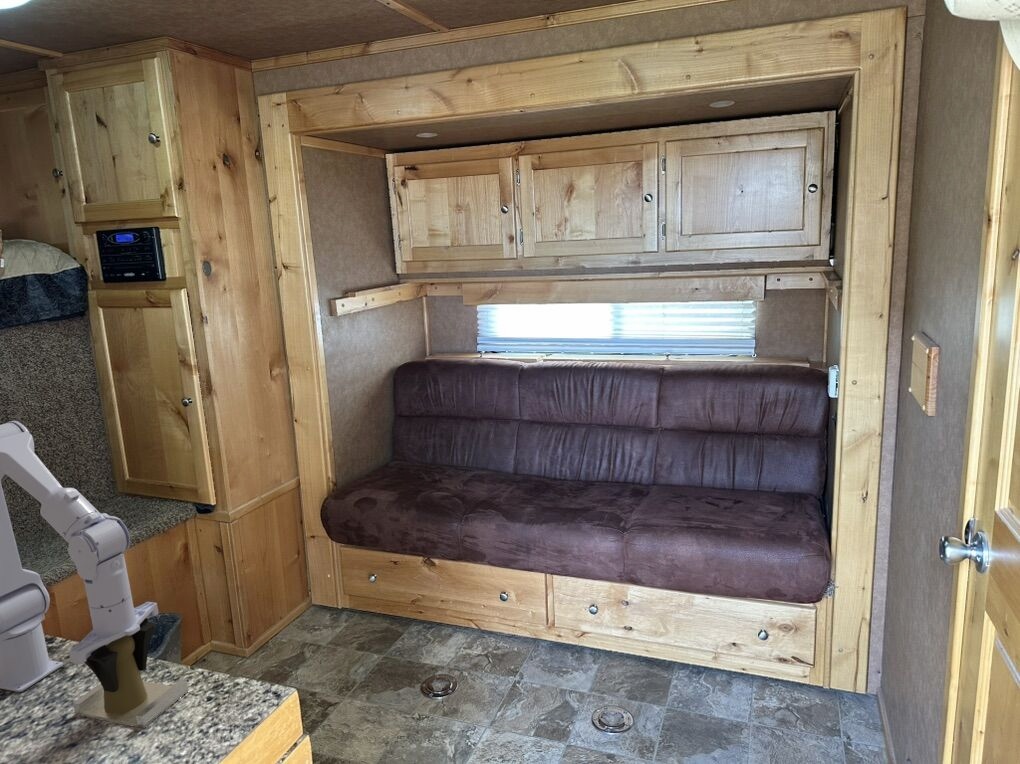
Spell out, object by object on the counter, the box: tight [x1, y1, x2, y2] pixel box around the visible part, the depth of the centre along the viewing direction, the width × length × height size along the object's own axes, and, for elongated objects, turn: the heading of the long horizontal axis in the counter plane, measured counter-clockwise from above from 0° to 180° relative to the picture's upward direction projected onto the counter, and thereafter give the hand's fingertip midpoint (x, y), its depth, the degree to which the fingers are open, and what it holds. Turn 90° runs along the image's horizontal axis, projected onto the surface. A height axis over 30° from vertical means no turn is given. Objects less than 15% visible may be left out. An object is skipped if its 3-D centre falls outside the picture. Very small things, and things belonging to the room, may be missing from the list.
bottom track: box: [72, 679, 190, 729], centre depth 113 cm, size 14×9×2 cm, turn 71°
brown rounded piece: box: [104, 635, 147, 714], centre depth 112 cm, size 6×6×11 cm
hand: (125, 679), depth 112 cm, fingers closed on brown rounded piece, 5 cm apart
